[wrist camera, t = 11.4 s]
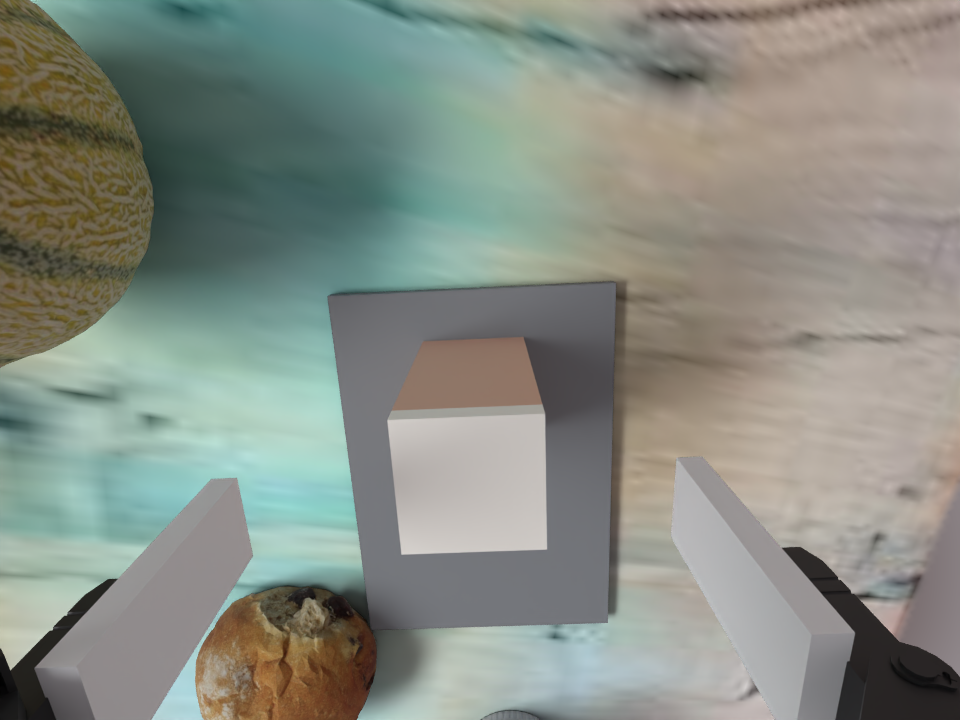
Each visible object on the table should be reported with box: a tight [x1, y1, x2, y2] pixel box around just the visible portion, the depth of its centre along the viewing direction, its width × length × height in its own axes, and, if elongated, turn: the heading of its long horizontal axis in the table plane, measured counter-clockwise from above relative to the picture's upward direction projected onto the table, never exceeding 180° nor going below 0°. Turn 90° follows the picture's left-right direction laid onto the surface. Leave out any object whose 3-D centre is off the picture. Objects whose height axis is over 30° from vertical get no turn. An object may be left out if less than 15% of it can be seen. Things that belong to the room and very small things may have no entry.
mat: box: [328, 281, 616, 630], centre depth 29 cm, size 20×14×1 cm
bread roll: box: [195, 586, 377, 720], centre depth 31 cm, size 10×10×8 cm
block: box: [387, 337, 547, 555], centre depth 22 cm, size 5×5×10 cm
